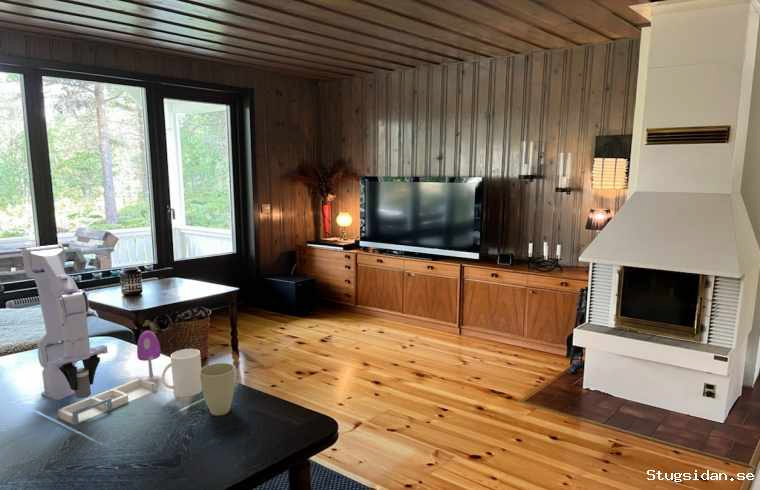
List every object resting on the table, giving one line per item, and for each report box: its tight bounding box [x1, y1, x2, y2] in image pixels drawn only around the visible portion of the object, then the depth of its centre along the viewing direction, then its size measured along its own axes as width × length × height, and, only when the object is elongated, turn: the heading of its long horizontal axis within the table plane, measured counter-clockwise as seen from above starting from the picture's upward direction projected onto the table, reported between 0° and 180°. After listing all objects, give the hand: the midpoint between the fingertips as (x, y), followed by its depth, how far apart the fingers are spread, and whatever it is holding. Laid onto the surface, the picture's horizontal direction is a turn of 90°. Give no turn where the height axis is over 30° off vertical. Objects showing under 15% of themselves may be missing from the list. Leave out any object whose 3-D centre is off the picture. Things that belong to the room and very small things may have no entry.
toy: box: [136, 330, 161, 376], centre depth 166 cm, size 7×7×15 cm
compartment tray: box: [56, 377, 158, 426], centre depth 147 cm, size 8×24×4 cm, turn 147°
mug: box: [161, 348, 203, 398], centre depth 153 cm, size 12×8×12 cm
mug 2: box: [200, 362, 236, 416], centre depth 143 cm, size 11×10×12 cm
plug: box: [74, 367, 92, 399], centre depth 140 cm, size 4×4×7 cm
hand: (82, 386), depth 141 cm, fingers closed on plug, 4 cm apart
